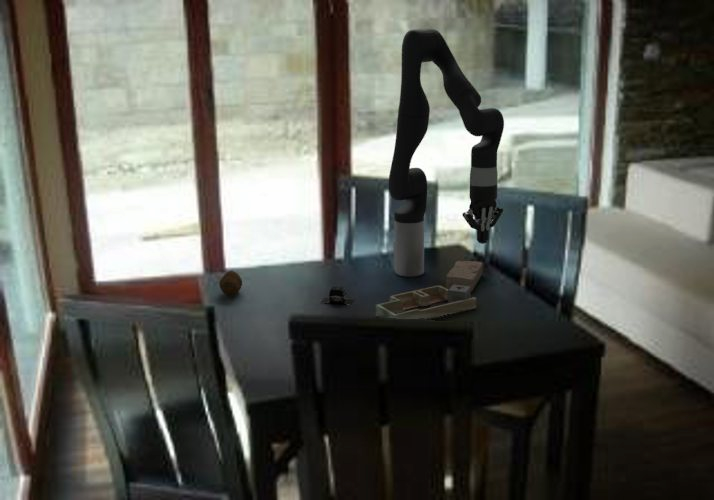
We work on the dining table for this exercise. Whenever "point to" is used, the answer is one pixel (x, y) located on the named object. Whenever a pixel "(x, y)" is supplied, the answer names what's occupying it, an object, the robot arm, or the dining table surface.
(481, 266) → the brick
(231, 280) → the potato
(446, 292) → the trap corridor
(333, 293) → the black hat
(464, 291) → the dice cube
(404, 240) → the robot arm
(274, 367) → the dining table surface
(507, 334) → the dining table surface
